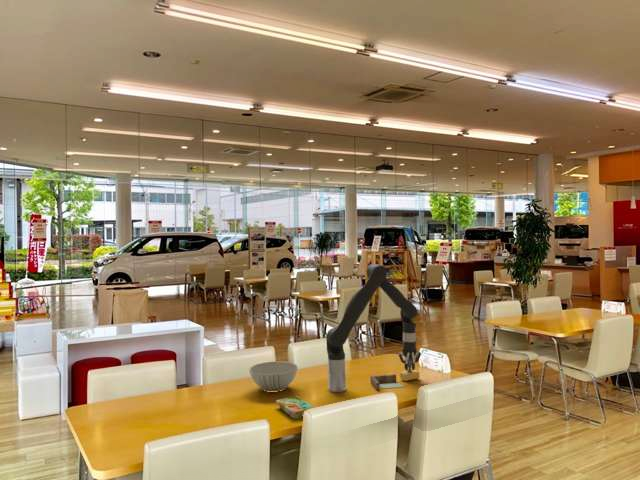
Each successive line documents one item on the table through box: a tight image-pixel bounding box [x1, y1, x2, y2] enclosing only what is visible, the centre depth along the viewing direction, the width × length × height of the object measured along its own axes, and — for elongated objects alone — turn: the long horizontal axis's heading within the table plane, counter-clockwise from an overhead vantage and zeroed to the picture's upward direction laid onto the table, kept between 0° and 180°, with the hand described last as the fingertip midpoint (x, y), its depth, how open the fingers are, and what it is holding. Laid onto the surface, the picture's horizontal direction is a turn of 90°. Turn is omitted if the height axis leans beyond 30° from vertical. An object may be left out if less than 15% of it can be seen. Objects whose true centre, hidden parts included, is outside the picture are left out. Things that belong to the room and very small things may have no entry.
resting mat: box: [379, 382, 404, 390], centre depth 280 cm, size 12×8×1 cm, turn 98°
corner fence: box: [370, 373, 397, 391], centre depth 280 cm, size 15×14×4 cm
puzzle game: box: [275, 395, 315, 419], centre depth 244 cm, size 12×5×20 cm
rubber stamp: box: [399, 358, 420, 382], centre depth 290 cm, size 10×6×12 cm, turn 119°
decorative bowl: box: [249, 360, 299, 392], centre depth 279 cm, size 27×27×12 cm
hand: (409, 369), depth 289 cm, fingers closed on rubber stamp, 3 cm apart
